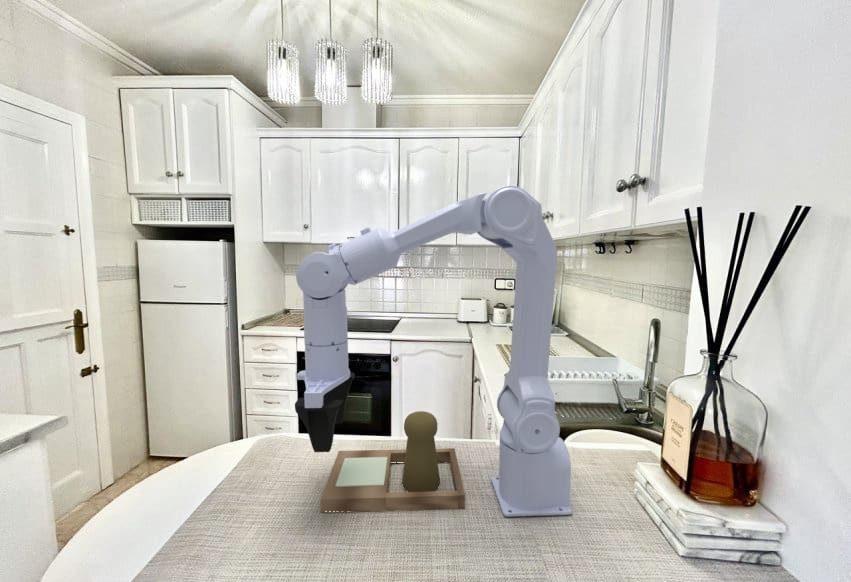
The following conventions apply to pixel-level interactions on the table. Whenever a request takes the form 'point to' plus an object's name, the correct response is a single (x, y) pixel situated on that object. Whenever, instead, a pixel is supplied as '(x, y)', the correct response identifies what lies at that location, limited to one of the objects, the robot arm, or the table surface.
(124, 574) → the table surface
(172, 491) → the table surface
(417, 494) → the well board
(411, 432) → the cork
